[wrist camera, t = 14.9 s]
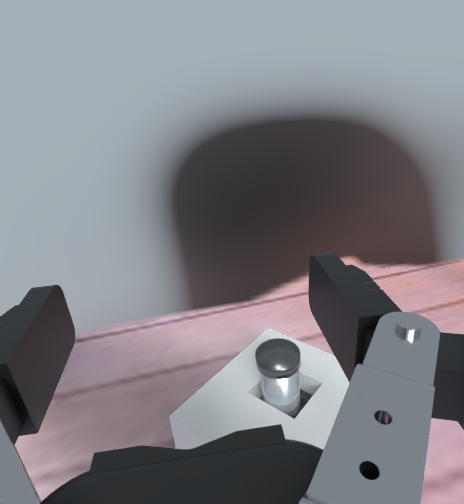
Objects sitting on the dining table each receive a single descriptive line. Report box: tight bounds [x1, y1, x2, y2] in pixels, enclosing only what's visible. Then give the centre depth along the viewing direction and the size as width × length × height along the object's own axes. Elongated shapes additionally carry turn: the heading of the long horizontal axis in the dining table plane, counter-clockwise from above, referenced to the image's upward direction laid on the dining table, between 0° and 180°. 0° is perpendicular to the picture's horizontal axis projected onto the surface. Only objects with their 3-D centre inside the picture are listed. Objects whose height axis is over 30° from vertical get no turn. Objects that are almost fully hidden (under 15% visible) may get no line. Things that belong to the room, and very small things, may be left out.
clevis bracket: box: [169, 328, 349, 450], centre depth 34 cm, size 18×17×10 cm
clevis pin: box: [255, 338, 301, 419], centre depth 32 cm, size 4×4×12 cm
